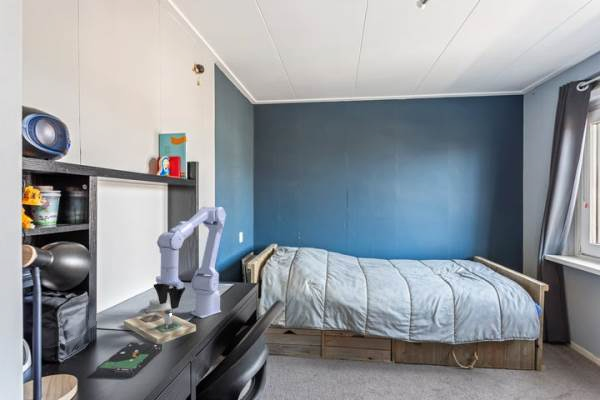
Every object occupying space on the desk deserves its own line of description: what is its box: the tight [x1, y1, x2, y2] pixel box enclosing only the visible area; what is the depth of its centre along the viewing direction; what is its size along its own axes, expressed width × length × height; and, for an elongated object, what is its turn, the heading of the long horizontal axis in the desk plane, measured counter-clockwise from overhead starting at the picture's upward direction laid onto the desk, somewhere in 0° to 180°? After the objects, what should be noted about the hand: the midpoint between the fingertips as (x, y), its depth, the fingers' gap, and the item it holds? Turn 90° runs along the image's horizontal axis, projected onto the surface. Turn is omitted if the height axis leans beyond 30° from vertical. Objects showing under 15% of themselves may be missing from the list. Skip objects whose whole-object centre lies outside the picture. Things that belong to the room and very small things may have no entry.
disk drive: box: [95, 341, 163, 379], centre depth 86 cm, size 10×3×15 cm
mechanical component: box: [145, 297, 171, 314], centre depth 129 cm, size 10×4×10 cm
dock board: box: [123, 310, 197, 345], centre depth 109 cm, size 14×24×2 cm, turn 53°
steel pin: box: [164, 309, 174, 330], centre depth 106 cm, size 3×3×8 cm
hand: (168, 305), depth 106 cm, fingers open, 7 cm apart
